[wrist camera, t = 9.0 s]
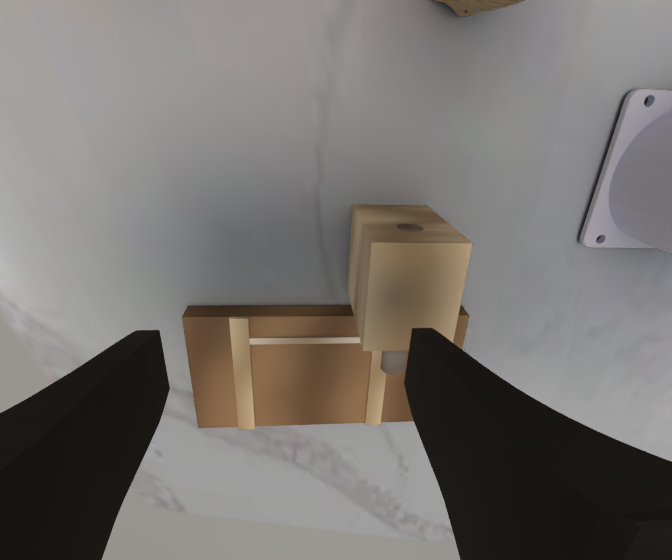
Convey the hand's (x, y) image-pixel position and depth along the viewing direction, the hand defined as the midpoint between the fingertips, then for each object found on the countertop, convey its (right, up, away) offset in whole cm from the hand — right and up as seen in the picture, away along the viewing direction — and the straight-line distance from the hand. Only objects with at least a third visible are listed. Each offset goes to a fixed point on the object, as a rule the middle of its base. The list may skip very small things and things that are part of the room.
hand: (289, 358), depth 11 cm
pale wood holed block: (+4, +3, +11) cm, 12 cm away
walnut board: (+1, -3, +13) cm, 13 cm away
